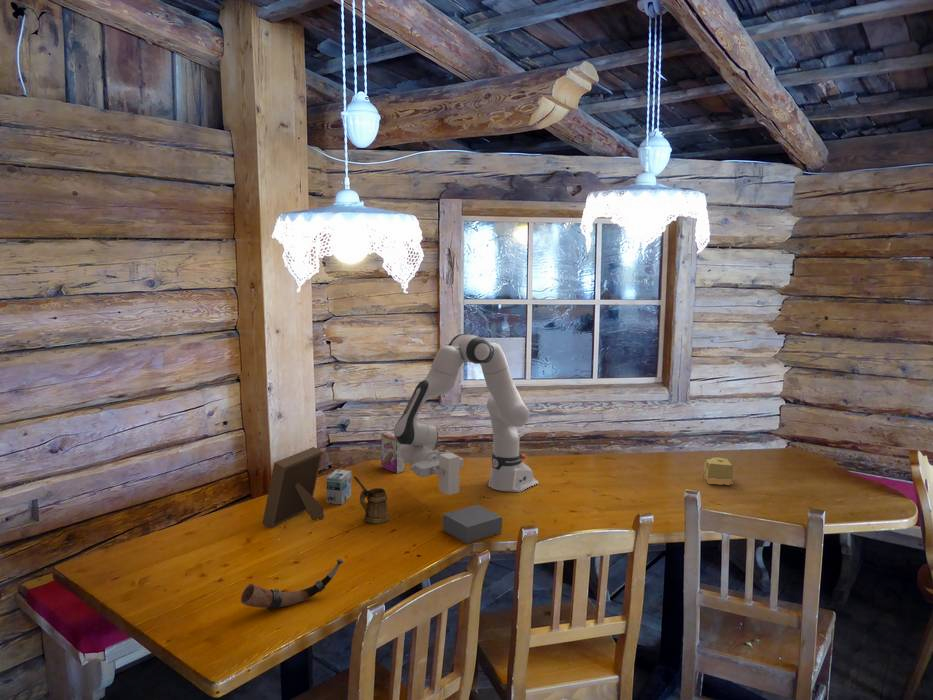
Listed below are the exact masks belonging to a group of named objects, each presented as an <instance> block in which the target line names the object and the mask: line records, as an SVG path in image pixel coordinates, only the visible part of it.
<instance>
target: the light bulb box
mask: <svg viewBox="0 0 933 700" xmlns="http://www.w3.org/2000/svg"><path fill="white" fill-rule="evenodd" d="M350 496H351V497H352V470H346V469H337V468H336V469H335V470H334V471H332V473H330V474H329V475H328V476H327V477H326V504H330V503H332V504H333V505H339V504H342V505H343V504H344V503H345V502H347V501H348V500H349V499H350V498H351V497H350ZM349 497H350V498H349ZM348 498H349V499H348ZM347 499H348V500H347ZM332 504H331V505H332Z"/></svg>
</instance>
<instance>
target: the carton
mask: <svg viewBox="0 0 933 700" xmlns="http://www.w3.org/2000/svg"><path fill="white" fill-rule="evenodd" d="M460 457H461V456H459V455H457V454H455V453H453V452H451V451H449V453H445V454H440V455H439V469H440V470H441V469H443V470H445V475H442V476H441V475H438V491H439V492H442V493H443V494H445V495H447V496H451V495H454V494H457V493H460V469H461V468H460Z"/></svg>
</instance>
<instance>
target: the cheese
mask: <svg viewBox="0 0 933 700" xmlns="http://www.w3.org/2000/svg"><path fill="white" fill-rule="evenodd" d="M733 469H734V467H733V465H732V463H731V462H730V461H729V460H728V458H726V457H724V458H723V457H711V458H710V459H708V458H706V460H705V461H704V464H703V470H702V472H703V471H704V472H705V473H706V476H707V478H716V479H732V480H733V477H734V470H733Z"/></svg>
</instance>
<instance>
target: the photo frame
mask: <svg viewBox="0 0 933 700" xmlns="http://www.w3.org/2000/svg"><path fill="white" fill-rule="evenodd" d="M322 456H323V450H321V449H319V448H316V447H315V446H312V447H310V448H308V449H305V450H303V451H299V452H298V453H295V454H292V455H289V456H287V457H285V458H282V459H279V460H277V461H275V462H274V463H273V467H272V472H271V477H270V481H269V488H268V492H267V497H266V502H265V503H266V504H265V507H264V511H263V512H264V513H263V517H262V522H261V524H262V525H264V526H266V527H267V528H269V529H270V530H272V529H274V528H276V527H278V526H280V525H282V524H284V523H286V522H287V520H288V521H290V520H292V519H293V517H294V518H295V517H298V516H299V515H301V514H303V513H305V512H307V513H308V515H309V517H310V520H311V521H312V520H315V521H318V520H317V519H320V520H324V519H325V514H324V507H323V505H321V504H320V503H319V502H318V500H317V499H315V497H314V494H315V490H316V489H315V488H316V486H317V485H316V484H317V480H318V475H319V469H320V465H321V461H322ZM306 510H307V511H306ZM304 511H305V512H304ZM302 512H303V513H302ZM300 513H301V514H300ZM298 514H299V515H298ZM291 518H292V519H291ZM323 518H324V519H323ZM289 519H290V520H289ZM285 521H286V522H285ZM283 522H284V523H283ZM281 523H282V524H281ZM279 524H280V525H279ZM277 525H278V526H277Z"/></svg>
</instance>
